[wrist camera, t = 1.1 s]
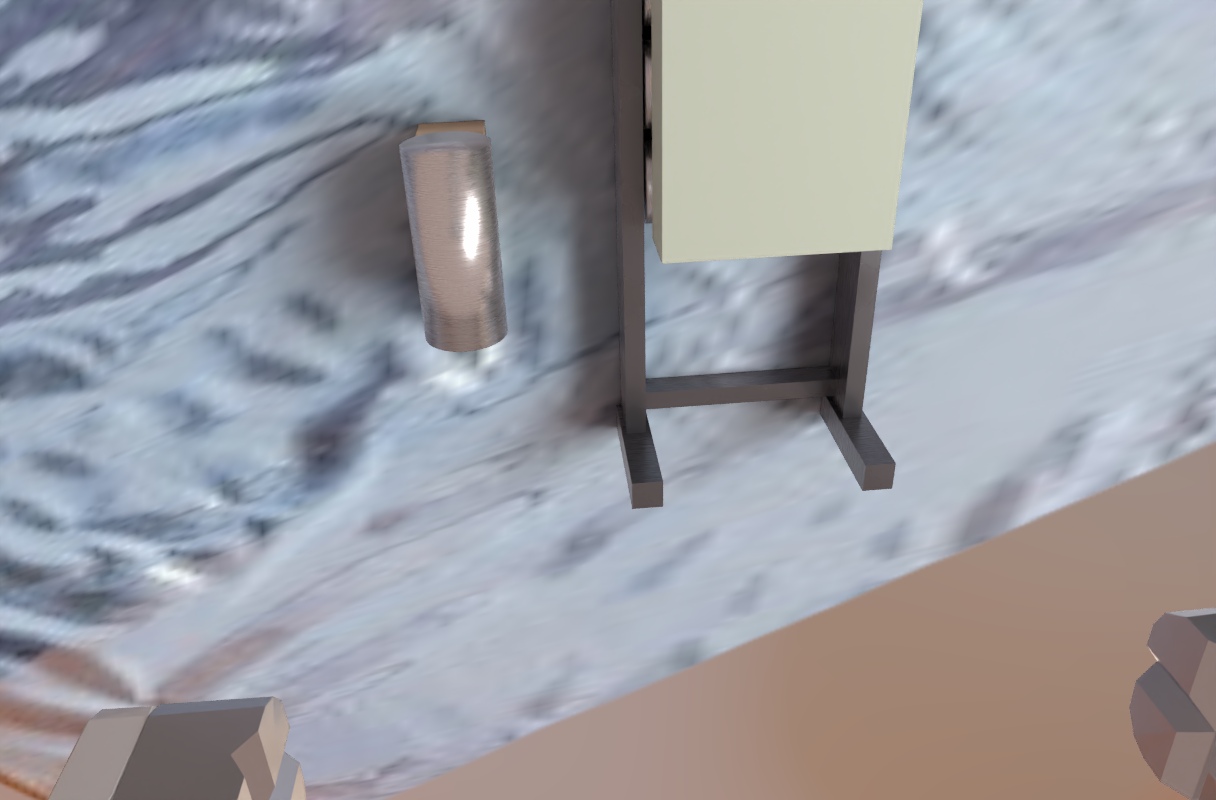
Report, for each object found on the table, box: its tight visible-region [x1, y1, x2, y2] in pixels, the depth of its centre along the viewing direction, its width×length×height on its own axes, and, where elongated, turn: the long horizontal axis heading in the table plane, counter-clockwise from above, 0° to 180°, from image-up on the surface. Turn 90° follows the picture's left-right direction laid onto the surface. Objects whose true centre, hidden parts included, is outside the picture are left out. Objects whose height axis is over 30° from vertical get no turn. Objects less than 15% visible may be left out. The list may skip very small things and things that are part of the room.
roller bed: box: [611, 0, 896, 509], centre depth 35 cm, size 21×10×6 cm, turn 2°
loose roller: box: [399, 131, 508, 352], centre depth 34 cm, size 7×3×3 cm, turn 2°
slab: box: [651, 0, 923, 264], centre depth 32 cm, size 9×8×2 cm
